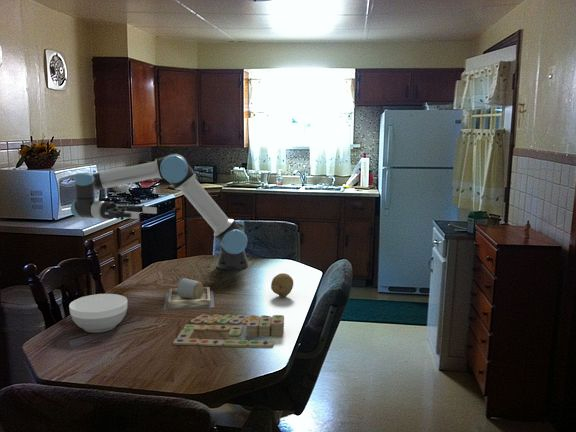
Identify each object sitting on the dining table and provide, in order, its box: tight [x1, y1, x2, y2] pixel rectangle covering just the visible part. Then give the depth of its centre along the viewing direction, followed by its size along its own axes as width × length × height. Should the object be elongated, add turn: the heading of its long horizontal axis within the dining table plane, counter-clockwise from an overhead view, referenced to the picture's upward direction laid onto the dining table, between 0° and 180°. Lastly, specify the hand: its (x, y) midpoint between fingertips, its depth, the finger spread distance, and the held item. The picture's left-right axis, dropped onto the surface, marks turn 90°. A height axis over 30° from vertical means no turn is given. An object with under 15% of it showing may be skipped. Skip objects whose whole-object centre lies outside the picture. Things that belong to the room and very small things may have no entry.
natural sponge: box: [270, 272, 294, 298], centre depth 212 cm, size 9×9×10 cm
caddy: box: [168, 286, 211, 308], centre depth 208 cm, size 16×16×2 cm
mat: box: [163, 290, 215, 311], centre depth 208 cm, size 19×20×1 cm
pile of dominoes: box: [172, 314, 285, 349], centre depth 178 cm, size 35×27×6 cm
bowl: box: [68, 293, 128, 333], centre depth 180 cm, size 19×19×9 cm
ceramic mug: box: [177, 277, 204, 299], centre depth 209 cm, size 11×8×8 cm
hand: (147, 213), depth 221 cm, fingers open, 13 cm apart
